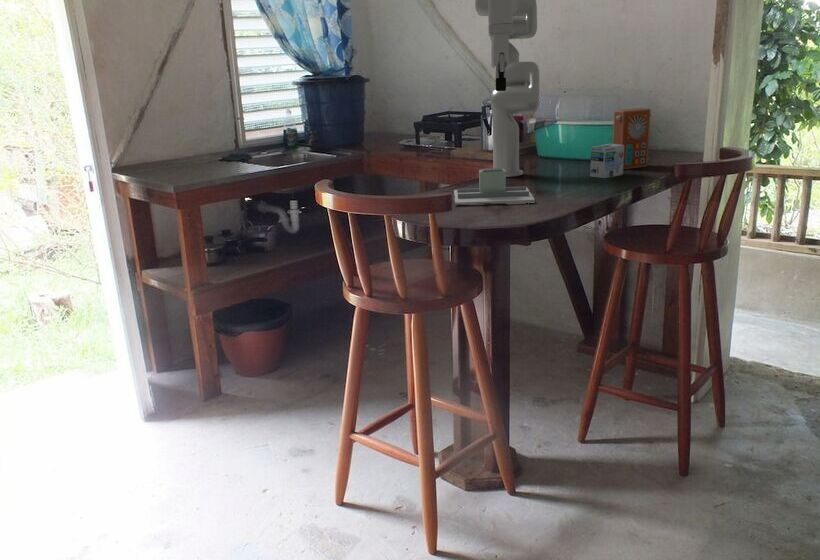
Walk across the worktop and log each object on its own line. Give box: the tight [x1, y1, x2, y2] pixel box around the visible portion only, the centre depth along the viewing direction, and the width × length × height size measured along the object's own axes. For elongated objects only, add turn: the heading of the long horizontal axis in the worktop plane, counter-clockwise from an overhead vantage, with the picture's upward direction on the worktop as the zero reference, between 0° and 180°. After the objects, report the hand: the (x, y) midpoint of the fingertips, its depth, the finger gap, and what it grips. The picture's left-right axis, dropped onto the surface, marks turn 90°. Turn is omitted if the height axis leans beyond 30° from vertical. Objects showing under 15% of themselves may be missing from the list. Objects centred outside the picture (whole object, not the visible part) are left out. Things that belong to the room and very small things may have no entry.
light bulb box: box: [589, 143, 624, 179], centre depth 246 cm, size 11×7×11 cm, turn 126°
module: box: [478, 167, 507, 193], centre depth 218 cm, size 5×8×7 cm, turn 87°
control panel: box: [612, 107, 652, 170], centre depth 259 cm, size 21×7×15 cm
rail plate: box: [453, 185, 536, 205], centre depth 219 cm, size 20×24×3 cm
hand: (500, 90), depth 223 cm, fingers closed
